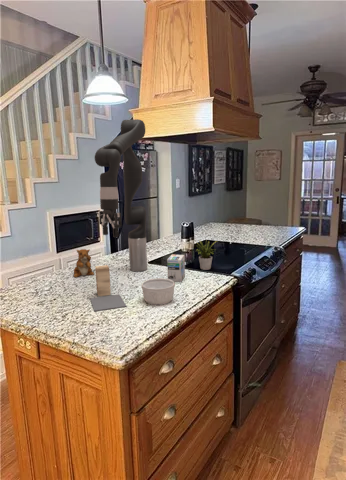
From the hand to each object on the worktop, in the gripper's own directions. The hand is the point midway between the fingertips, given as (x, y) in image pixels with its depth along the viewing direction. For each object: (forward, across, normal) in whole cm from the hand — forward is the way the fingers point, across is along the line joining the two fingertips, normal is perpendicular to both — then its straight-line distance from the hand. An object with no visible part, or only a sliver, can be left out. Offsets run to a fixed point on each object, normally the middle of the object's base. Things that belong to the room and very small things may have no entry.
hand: (110, 235), depth 146 cm
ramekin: (+24, -24, -7) cm, 35 cm away
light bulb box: (+23, -8, -30) cm, 39 cm away
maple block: (+24, -4, +6) cm, 25 cm away
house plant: (+23, -5, -52) cm, 57 cm away
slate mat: (+24, -13, +10) cm, 29 cm away
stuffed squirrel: (+24, +32, -2) cm, 40 cm away
